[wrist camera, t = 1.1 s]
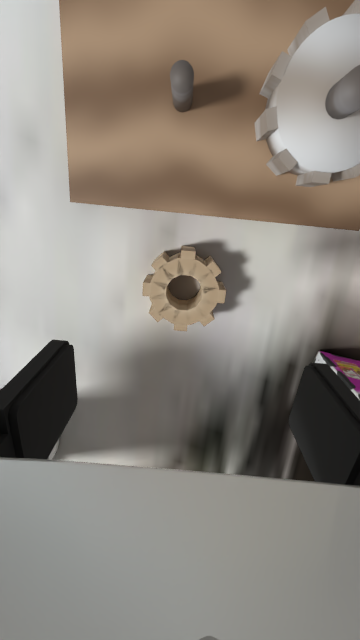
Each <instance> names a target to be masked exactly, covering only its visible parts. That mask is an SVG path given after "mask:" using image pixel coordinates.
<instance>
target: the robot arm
mask: <svg viewBox="0 0 360 640" xmlns="http://www.w3.org/2000/svg"><path fill="white" fill-rule="evenodd" d="M76 406H77V388H76V374H75V361H74V348H73V346H72V345H69V342H68V341H62V340H52V341H50V342H49V343H48V344H47V345H46V346H45V347H44V348H43V349H42V350H41V351H40V352H39V353H38V354H37V355H36V356H35V357H34V358H33V359H32V360H31V361H30V362H29V363H28V364H27V365H26V366H25V367H24V368H23V369H22V370H21V371H20V372H19V373H18V374H17V375H16V376H15V377H14V378H13V379H12V380H11V381H10V382H9V383H8V384H7V385H5V386H4V387H3V388H2V389H1V390H0V640H360V400H359V399H358V398H357V397H356V396H355V394H354V393H353V392H352V391H351V390H350V389H349V388H348V387H347V385H346V384H345V383H344V382H343V381H342V380H341V379H340V378H339V376H338V375H337V374H336V373H335V372H334V371H333V370H332V369H331V367H330V366H329V365H328V364H323V363H310V364H309V366H306V367H305V368H304V371H303V374H302V377H301V381H300V384H299V387H298V390H297V394H296V397H295V400H294V403H293V407H292V410H291V413H290V417H289V426H290V429H291V431H292V433H293V435H294V437H295V439H296V442H297V444H298V446H299V448H300V450H301V452H302V454H303V457H304V459H305V461H306V463H307V465H308V467H309V470H310V472H311V474H312V476H313V478H314V480H315V482H313V481H301V480H290V479H279V478H268V477H257V476H246V475H234V474H223V473H211V472H199V471H187V470H175V469H163V468H151V467H138V466H125V465H113V464H100V463H87V462H74V461H61V460H52V458H53V457H54V455H55V453H56V451H57V449H58V445H59V437H60V435H61V434H62V432H63V430H64V428H65V426H66V425H67V423H68V421H69V419H70V417H71V416H72V414H73V412H74V410H75V408H76Z"/></svg>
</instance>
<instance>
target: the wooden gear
mask: <svg viewBox="0 0 360 640" xmlns="http://www.w3.org/2000/svg"><path fill="white" fill-rule="evenodd" d="M195 253H196V251H195V247H189V246H182V248H181V253H177V254H175V255H173V256H171V257H169V256H168V255H167V253H166V252H165V251H164V252H163V253H162V254H161V255H160V256H158V257H157V258H156V259H155V260H154V262H153V264H152V265H151V266H152V267H153V268H154V269H155V270H156V272H155V273H154V275H147V277H146V278H145V280H144V282H143V296H150V300H151V302H152V305H151V308H150V311H149V313H150V315H151V316H152V317H153V318H154V319H155V320H156V321H157V322H159V321H160V320H161V319H162V318H165V319H166V320H168V321H169V322H171V323H173V324H174V330H178V331H187V325H189V324H190V325H191V324H194V323H196V322H198V321H200V322H201V323H202V325H203V326H206V325H207V324H208V323H210V322H211V321H212V320H214V315H213V311H212V310H213V309H214V308H215V306H216V305H217V303H224V302H225V296H226V289H225V287H224V285H223V283H222V282H217V281H216V278H215V277H216V276H218V275H219V274H220V273H221V270H220V268H219V267H218V265H217V264H216V262H215V261H214V260H213V259H212V257H211V256H209V257H208V258H207V259H205V260H203V259H202V258H200V257H199V256H198V255H196V254H195ZM179 275H188V276H192V277H193V278H195V279H196V280H198V281H199V283H200V285H201V286H200V291H199V292H198V293H197V295H196V296H195V297H193V298H191V299H189V300H179V299H177V298H176V297H174V296H173V295H171V293H170V291H169V289H168V284H169V282H170V281H171V280H172V279H173V278H175V277H177V276H179Z"/></svg>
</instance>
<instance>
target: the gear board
mask: <svg viewBox="0 0 360 640" xmlns="http://www.w3.org/2000/svg"><path fill="white" fill-rule="evenodd" d="M59 6H60V24H61V42H62V60H63V78H64V97H65V115H66V133H67V151H68V169H69V187H70V202H76V203H86V204H96V205H106V206H116V207H126V208H136V209H146V210H156V211H166V212H176V213H186V214H196V215H206V216H216V217H226V218H236V219H246V220H256V221H266V222H276V223H286V224H295V225H305V226H315V227H325V228H335V229H345V230H355V231H359V229H360V0H59Z"/></svg>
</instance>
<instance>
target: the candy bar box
mask: <svg viewBox="0 0 360 640" xmlns="http://www.w3.org/2000/svg"><path fill="white" fill-rule="evenodd" d="M312 363H323V364H328V365H329V366H330V367H331V369H332V370H333V371H334V372H335V373H336V374H337V375H338V376H339V378H340V379H341V380H342V381H343V382H344V383H345V384H346V385H347V387H348V388H349V389H350V390H351V391H352V392H353V393H354V394H355V396H356V397H357V398H358V399H359V400H360V361H359V360H355V359H351V358H347V357H343V356H338V355H334V354H330V353H326V352H322V351H318V353H317V355H316V356H315V358H314V360H313V362H312Z"/></svg>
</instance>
